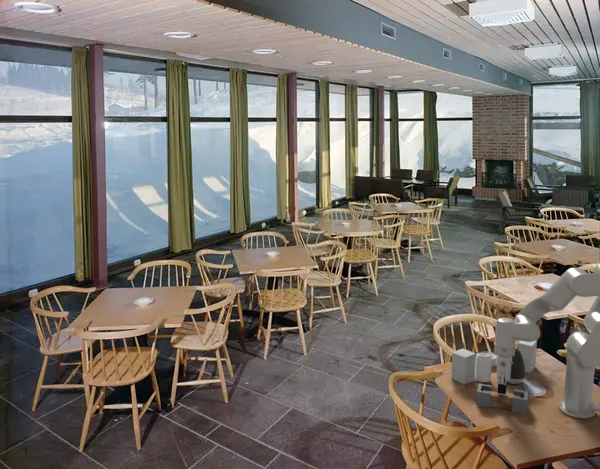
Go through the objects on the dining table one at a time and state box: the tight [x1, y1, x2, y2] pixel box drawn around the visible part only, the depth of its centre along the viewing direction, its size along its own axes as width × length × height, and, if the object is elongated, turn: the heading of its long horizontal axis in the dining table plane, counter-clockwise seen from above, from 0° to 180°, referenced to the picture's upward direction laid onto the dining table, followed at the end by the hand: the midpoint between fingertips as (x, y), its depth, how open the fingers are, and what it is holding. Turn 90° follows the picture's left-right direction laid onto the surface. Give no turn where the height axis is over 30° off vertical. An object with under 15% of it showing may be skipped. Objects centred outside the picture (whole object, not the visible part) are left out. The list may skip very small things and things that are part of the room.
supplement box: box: [450, 348, 477, 385], centre depth 230 cm, size 7×7×13 cm
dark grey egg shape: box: [506, 347, 527, 385], centre depth 227 cm, size 10×10×15 cm
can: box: [475, 351, 492, 384], centre depth 230 cm, size 6×6×12 cm
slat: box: [483, 390, 521, 410], centre depth 209 cm, size 14×4×5 cm, turn 72°
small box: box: [517, 339, 538, 374], centre depth 240 cm, size 8×6×13 cm
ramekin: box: [487, 351, 497, 368], centre depth 246 cm, size 9×9×4 cm
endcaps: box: [475, 383, 528, 415], centre depth 209 cm, size 18×7×6 cm, turn 66°
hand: (501, 392), depth 209 cm, fingers closed
